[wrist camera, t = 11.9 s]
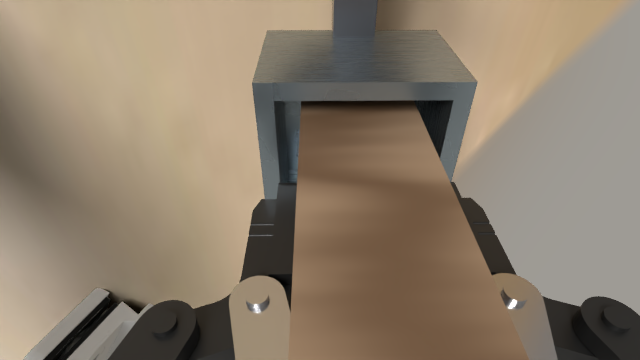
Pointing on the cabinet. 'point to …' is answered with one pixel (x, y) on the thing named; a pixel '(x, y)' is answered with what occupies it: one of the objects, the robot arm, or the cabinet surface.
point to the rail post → (386, 246)
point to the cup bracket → (356, 83)
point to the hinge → (88, 330)
